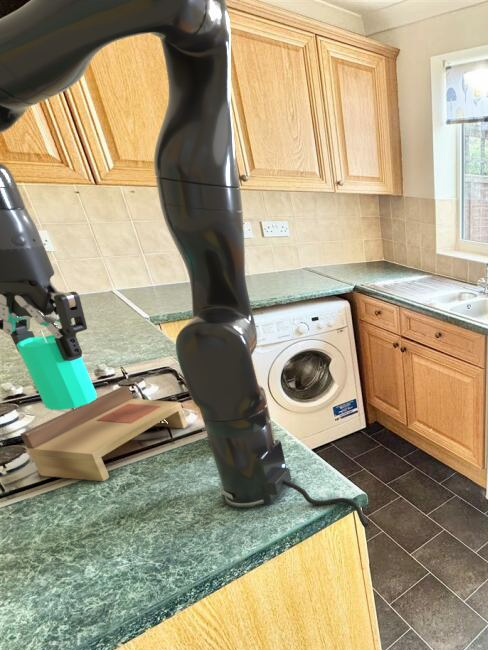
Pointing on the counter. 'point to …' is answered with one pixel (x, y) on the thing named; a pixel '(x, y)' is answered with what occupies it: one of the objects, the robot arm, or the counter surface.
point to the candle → (56, 374)
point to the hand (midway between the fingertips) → (52, 357)
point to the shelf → (95, 433)
